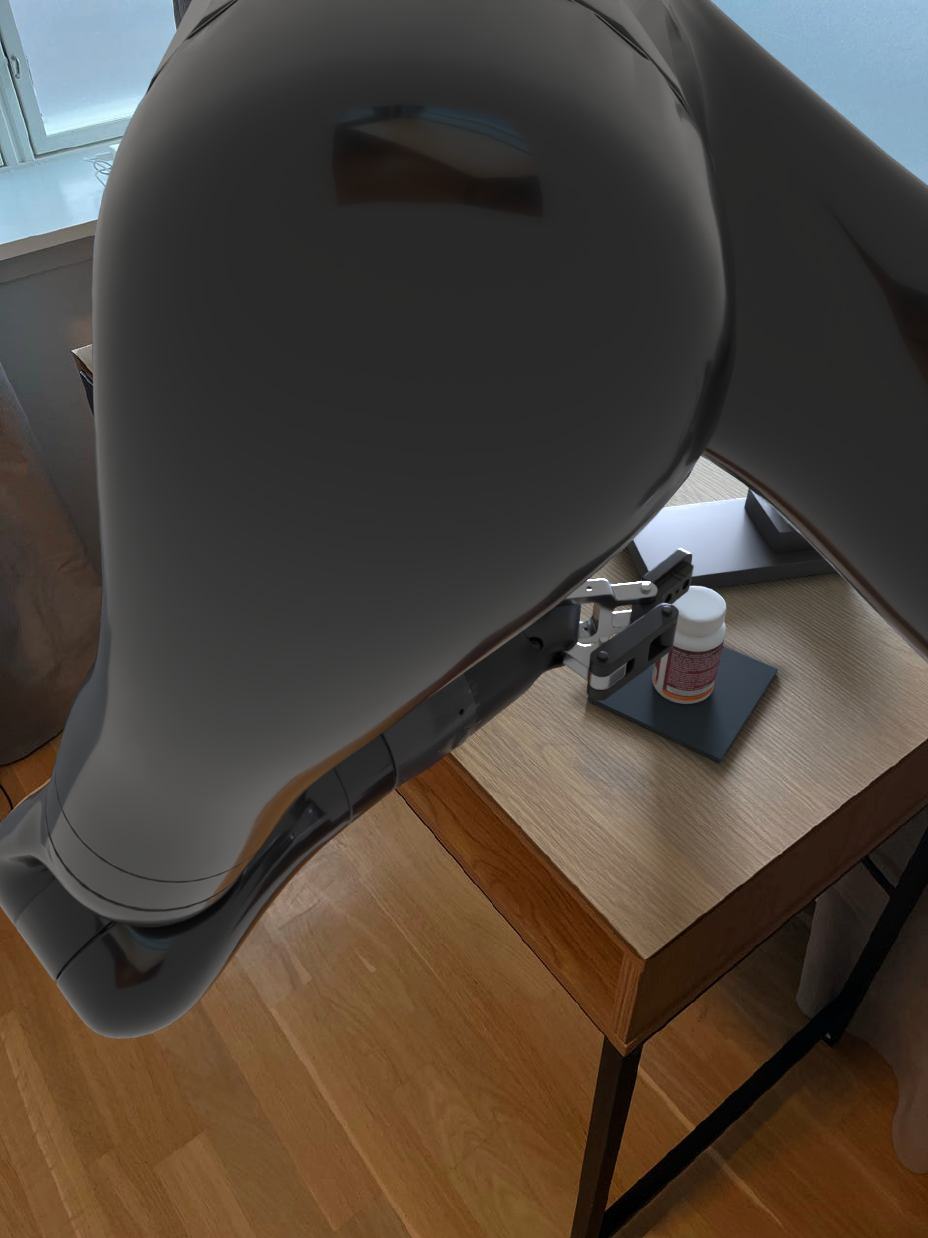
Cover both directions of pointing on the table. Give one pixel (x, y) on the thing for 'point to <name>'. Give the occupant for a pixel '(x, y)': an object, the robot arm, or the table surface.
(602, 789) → the table surface
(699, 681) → the pill bottle
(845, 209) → the robot arm
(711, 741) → the mat
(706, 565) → the tiered step platform
